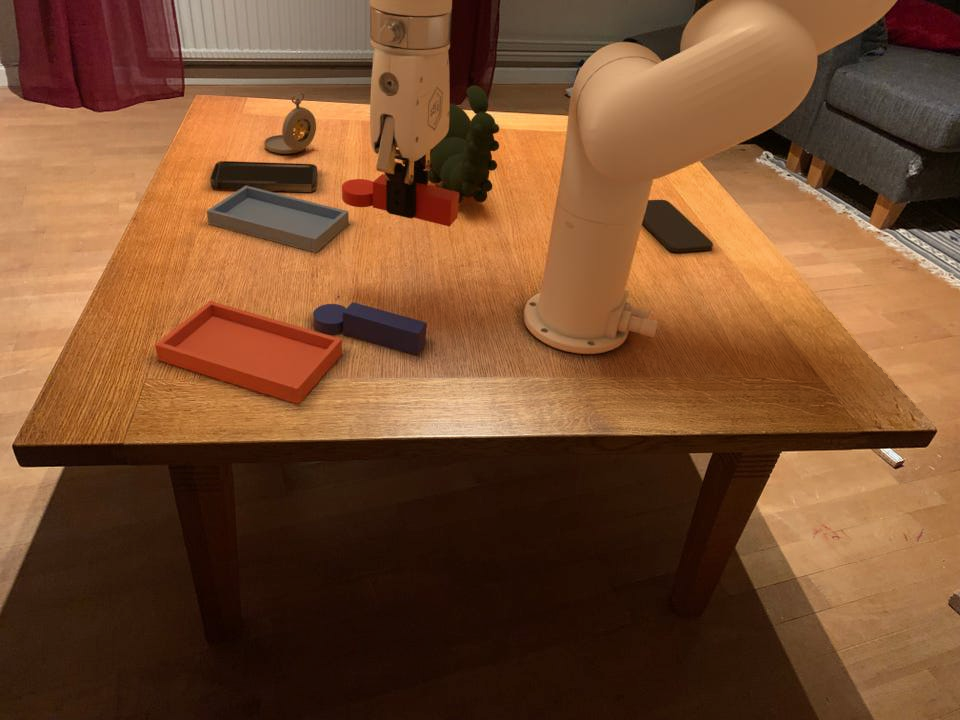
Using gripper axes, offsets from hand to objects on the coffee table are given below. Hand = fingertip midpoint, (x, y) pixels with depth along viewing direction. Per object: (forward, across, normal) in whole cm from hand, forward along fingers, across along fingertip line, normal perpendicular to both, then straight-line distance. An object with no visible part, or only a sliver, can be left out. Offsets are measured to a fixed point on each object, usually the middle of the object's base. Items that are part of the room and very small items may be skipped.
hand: (407, 207), depth 80 cm
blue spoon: (+13, -7, +1) cm, 15 cm away
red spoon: (0, 0, +1) cm, 1 cm away
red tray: (+13, -16, +10) cm, 23 cm away
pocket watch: (+13, +34, +36) cm, 51 cm away
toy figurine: (+13, +35, +8) cm, 38 cm away
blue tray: (+13, +11, +24) cm, 29 cm away
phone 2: (+14, +38, -26) cm, 48 cm away
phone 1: (+13, +22, +33) cm, 41 cm away
